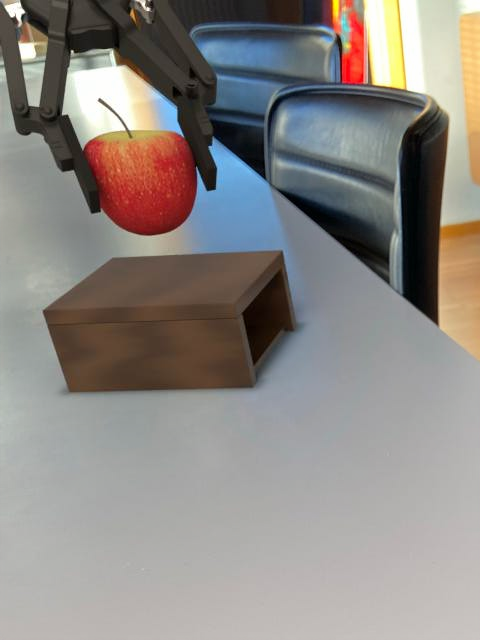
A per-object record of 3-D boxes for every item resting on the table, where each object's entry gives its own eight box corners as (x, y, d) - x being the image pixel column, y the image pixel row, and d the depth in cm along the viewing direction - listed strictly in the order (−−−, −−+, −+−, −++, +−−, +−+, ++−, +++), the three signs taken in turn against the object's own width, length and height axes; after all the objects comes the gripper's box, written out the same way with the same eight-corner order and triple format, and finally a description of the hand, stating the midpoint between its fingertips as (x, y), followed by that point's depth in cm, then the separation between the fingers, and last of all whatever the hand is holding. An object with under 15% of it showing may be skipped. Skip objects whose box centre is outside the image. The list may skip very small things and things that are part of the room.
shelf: (69, 393, 85) (41, 310, 81) (133, 333, 96) (112, 257, 92) (253, 388, 83) (234, 303, 78) (297, 327, 94) (282, 249, 90)
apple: (101, 228, 85) (63, 95, 79) (203, 212, 87) (173, 80, 81) (106, 253, 79) (64, 110, 73) (215, 234, 81) (183, 93, 75)
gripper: (182, -35, 88) (279, 195, 85) (-81, -5, 80) (19, 247, 78) (182, -114, 81) (289, 134, 78) (-105, -89, 73) (4, 185, 71)
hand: (154, 190), depth 78 cm, fingers closed on apple, 8 cm apart
